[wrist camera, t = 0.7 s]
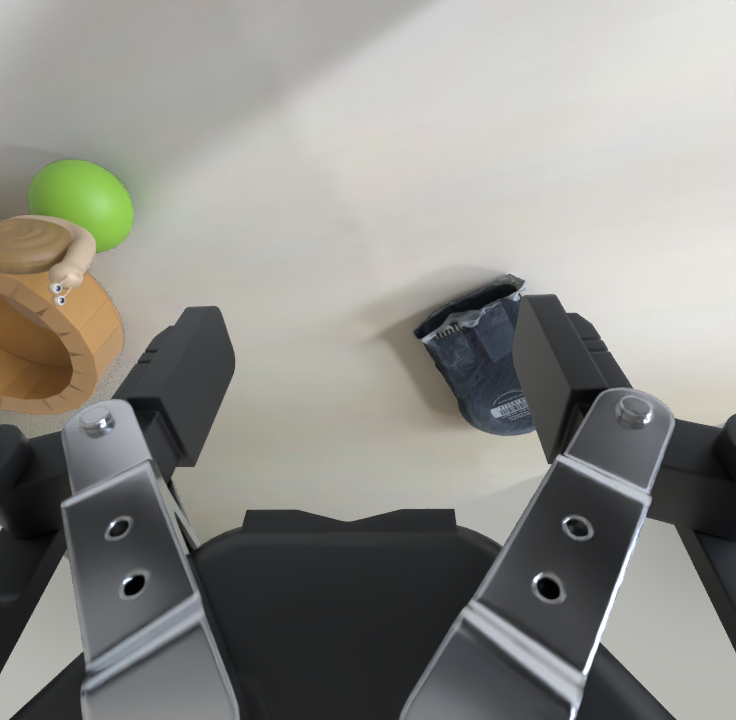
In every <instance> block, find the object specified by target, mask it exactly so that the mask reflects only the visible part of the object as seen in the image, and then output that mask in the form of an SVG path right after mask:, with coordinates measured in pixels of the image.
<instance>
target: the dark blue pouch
mask: <svg viewBox="0 0 736 720" xmlns="http://www.w3.org/2000/svg"><path fill="white" fill-rule="evenodd" d="M526 283H527V281H525V280H522V279H520V278H517V277H515V276H513V275H511V274H508V275H506V276H505V277H502V278H500V279H498V280H497V281H495V282H493V283H491V284H489V285H488V286H486V287H484V288H482V289H479V290H477V291H475V292H473V293H471V294H469V295H467V296H465V297H463V298H461V299H458V300H456V301H453V302H451V303H449V304H447V305H445V306H443V307H441V308H439V309H438V310H436V311H434V312H433V313H432V314H431V316H430V317H429V318H428V319H427V320H426V321H424V322H423V323H422V324H421V325H420V326H419V327H418V328H417V329H415V330H413V333H414V335H415V336H416V338H417V339H418V340H419V341H421V342H423V344H424V345H425V347H426V349H427V351H428V352H429V354H430V356H431V357H432V358H433V360H434V362H435V365H436V367H437V369H438V370H439V371H440V372H441V373H442V375H443V376H444V378H445V380H446V382H447V383H448V384H449V386H450V388H451V389H452V391H453V393H454V395H455V396H456V398H457V400H458V405H459V410H460V412H461V413H462V415H463V417H464V418H465V419H466V421H467V422H468V423H470V424H471V425H472V426H473V427H475V428H477V429H479V430H481V431H484V432H487V433H490V434H495V435H501V436H514V435H521V434H527V433H531V432H533V431H535V430H536V428H535V425H534V422H533V419H532V416H531V413H530V410H529V408H528V405H527V402H526V399H525V396H524V393H523V390H522V388H521V385H520V382H519V379H518V376H517V373H516V370H515V367H514V363H513V341H514V336H515V330H516V325H517V319H518V313H519V308H520V303H521V299H522V296H521V295H520V293H519V292H521V291H524V290H525V287H524V285H525V284H526Z"/></svg>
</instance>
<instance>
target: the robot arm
mask: <svg viewBox="0 0 736 720" xmlns="http://www.w3.org/2000/svg"><path fill="white" fill-rule="evenodd" d="M513 363H514V367H515V370H516V373H517V376H518V379H519V382H520V385H521V388H522V390H523V393H524V396H525V399H526V402H527V405H528V408H529V410H530V413H531V416H532V419H533V422H534V425H535V428H536V431H537V433H538V436H539V439H540V442H541V445H542V448H543V451H544V453H545V456H546V459H547V462H548V464H552V465H551V467H550V468H549V470H548V472H547V473H546V475H545V477H544V479H543V480H542V482H541V483H540V485H539V487H538V489H537V490H536V492H535V494H534V495H533V497H532V499H531V500H530V502H529V504H528V505H527V507H526V509H525V510H524V512H523V514H522V516H521V517H520V519H519V520H518V522H517V524H516V526H515V527H514V529H513V531H512V532H511V534H510V536H509V538H508V539H507V541H506V542H505V544H504V546H501V545H500V544H498V543H497V542H495V541H494V540H492V539H490V538H488V537H486V536H484V535H482V534H480V533H478V532H476V531H473V530H470V529H468V528H465V527H461V526H457V525H456V519H455V511H454V509H401V510H397V511H393V512H389V513H385V514H380V515H376V516H372V517H368V518H364V519H360V520H356V521H351V522H345V521H340V520H336V519H332V518H328V517H324V516H320V515H316V514H312V513H308V512H304V511H300V510H247V511H246V515H245V518H244V522H243V525H242V527H238V528H235V529H232V530H230V531H227V532H224V533H222V534H220V535H218V536H216V537H214V538H212V539H210V540H209V541H207V542H205V543H204V544H202V545H201V543H200V541H199V538H198V536H197V534H196V532H195V529H194V527H193V525H192V522H191V520H190V518H189V515H188V513H187V510H186V508H185V506H184V503H183V501H182V499H181V496H180V494H179V492H178V489H177V487H176V485H175V482H174V481H173V479H172V477H171V476H172V474H173V472H174V470H175V468H176V467H195V465H196V462H197V460H198V457H199V455H200V453H201V450H202V448H203V445H204V443H205V441H206V438H207V436H208V434H209V431H210V429H211V426H212V424H213V422H214V419H215V417H216V414H217V412H218V410H219V407H220V405H221V403H222V400H223V398H224V395H225V393H226V391H227V388H228V386H229V384H230V381H231V379H232V376H233V374H234V370H235V354H234V350H233V347H232V344H231V341H230V338H229V335H228V332H227V329H226V325H225V322H224V319H223V316H222V313H221V311H220V309H219V308H218V307H217V306H202V307H187V308H186V309H185V310H184V312H183V313H182V315H181V316H180V318H179V319H178V321H177V322H176V324H175V325H174V326H169V327H168V328H166V329H165V330H164V331H162V332H161V333H160V334H158V335H157V336H156V337H154V339H153V340H152V341H151V343H150V344H149V346H148V347H147V349H146V350H145V353H143V354H142V356H141V357H140V358H139V360H138V364H135V366H134V367H133V368H132V370H131V371H130V373H129V374H128V376H127V377H126V378H125V380H124V381H123V383H122V384H121V385H120V387H119V388H118V390H117V391H116V393H115V394H114V395H113V397H112V398H111V399H108V400H103V401H99V402H96V403H93V404H91V405H89V406H87V407H85V408H83V409H81V410H80V411H78V412H77V413H76V414H74V415H73V416H72V417H71V418H70V419H69V420H68V421H67V423H66V424H65V425H64V427H63V429H62V431H59V432H55V433H51V434H47V435H43V436H39V437H35V438H31V439H27V438H26V437H25V435H24V434H23V433H22V432H21V431H20V429H19V428H17V427H16V426H14V425H9V424H2V425H0V525H1V526H2V527H3V528H2V529H1V531H0V673H1V671H2V669H3V667H4V665H5V664H6V662H7V660H8V658H9V656H10V654H11V652H12V651H13V649H14V647H15V645H16V643H17V641H18V639H19V637H20V636H21V634H22V632H23V630H24V628H25V626H26V624H27V622H28V620H29V619H30V617H31V615H32V613H33V611H34V609H35V607H36V605H37V604H38V602H39V600H40V598H41V596H42V594H43V592H44V590H45V588H46V586H47V585H48V583H49V581H50V579H51V577H52V575H53V573H54V572H55V570H56V568H57V566H58V564H59V562H60V560H61V558H62V557H63V555H64V553H65V551H66V549H67V550H68V556H69V563H70V569H71V575H72V581H73V587H74V594H75V600H76V607H77V613H78V619H79V626H80V632H81V638H82V645H83V652H82V653H81V654H80V655H79V656H78V657H77V658H75V659H74V660H73V661H72V662H71V663H70V664H69V665H68V666H67V667H66V668H65V669H64V670H62V671H61V672H60V673H59V674H58V675H57V676H56V677H55V678H54V679H53V680H52V681H51V682H49V683H48V684H47V685H46V686H45V687H44V688H43V689H42V690H41V691H40V692H39V693H38V694H37V695H35V696H34V697H33V698H32V699H31V700H30V701H29V702H28V703H27V704H26V705H24V706H23V707H22V708H21V709H20V710H19V711H18V712H17V713H16V714H15V715H14V716H13V717H11V718H10V719H9V720H676V719H675V718H674V717H673V716H672V715H671V714H670V713H669V712H668V711H667V710H666V709H665V708H664V707H663V706H662V705H661V704H660V703H659V702H658V701H657V700H656V699H655V698H654V697H653V696H652V695H651V693H649V691H648V690H647V689H646V688H645V687H644V686H643V685H642V684H641V683H640V682H639V681H638V680H637V679H636V678H635V677H634V676H633V675H632V674H631V673H630V672H629V671H628V670H627V669H626V668H625V667H624V666H623V665H622V664H621V663H620V662H619V661H618V660H617V659H616V658H615V657H614V656H613V655H612V654H611V653H610V652H609V651H608V650H607V649H606V648H605V647H604V646H603V645H602V644H601V643H600V640H601V638H602V635H603V632H604V629H605V627H606V624H607V621H608V619H609V616H610V613H611V610H612V608H613V605H614V602H615V599H616V597H617V594H618V591H619V589H620V586H621V583H622V580H623V578H624V575H625V572H626V569H627V566H628V564H629V561H630V558H631V556H632V553H633V550H634V547H635V545H636V542H637V539H638V537H639V534H640V531H641V529H642V526H643V523H644V520H645V518H646V517H647V518H651V519H655V520H659V521H662V522H666V523H670V524H673V525H675V527H676V529H677V531H678V533H679V535H680V537H681V539H682V542H683V544H684V546H685V548H686V550H687V552H688V554H689V556H690V558H691V560H692V562H693V565H694V567H695V569H696V571H697V573H698V575H699V577H700V579H701V581H702V583H703V585H704V587H705V589H706V591H707V594H708V596H709V597H710V600H711V602H712V604H713V606H714V608H715V610H716V612H717V614H718V616H719V619H720V621H721V623H722V625H723V627H724V629H725V631H726V633H727V635H728V637H729V639H730V641H731V643H732V645H733V648H734V650H735V652H736V414H735V415H733V416H731V417H730V418H729V419H728V420H727V422H726V423H725V425H724V426H723V428H717V427H713V426H708V425H703V424H698V423H693V422H688V421H684V420H679V419H676V418H674V415H673V413H672V412H671V410H670V409H669V408H668V407H667V406H666V405H665V404H664V403H663V402H662V401H660V400H659V399H657V398H656V397H654V396H652V395H650V394H648V393H645V392H643V391H640V390H636V389H633V387H632V386H631V384H630V383H629V381H628V379H627V378H626V376H625V375H624V373H623V372H622V370H621V368H620V367H619V365H618V364H617V362H616V361H615V359H614V358H613V356H612V354H611V353H610V352H608V348H607V347H606V345H605V343H604V342H603V340H601V337H600V336H599V334H598V333H597V331H596V329H595V328H594V326H593V325H592V324H591V323H590V322H588V321H587V320H586V319H584V318H583V317H581V316H580V315H579V314H577V313H566V312H565V310H564V308H563V306H562V305H561V303H560V301H559V299H558V298H557V296H556V295H555V294H546V295H524V296H523V297H522V299H521V303H520V308H519V313H518V319H517V325H516V330H515V336H514V341H513Z"/></svg>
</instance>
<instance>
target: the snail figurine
mask: <svg viewBox="0 0 736 720" xmlns="http://www.w3.org/2000/svg"><path fill="white" fill-rule="evenodd" d="M28 204H29V209H30V212H31V215H21V216H15V217H11V218H8V219H2V220H0V273H5V274H17V275H21V274H36V273H42V272H47V271H49V274H48V277H49V280H50V282H51V283H50V284H49V285H48V287H47V288H48V291H49V292H50V293H52V294H57V295H54V296H53V297H52V303H53V304H54V305H56V306H62V305H63V304H64V303H65V298H64V297H65V296H66V295H67V294H68V293H69V292H70V290H71V289H74V288H76V287H78V286H79V285H80V284H81V283H82V281H83V274H84V273H85V272H86V271H87V270H88V268H89V267H90V265H91V263H92V261H93V259H94V256H95V253H100V252H104V251H108V250H110V249H112V248H114V247H116V246H118V245H119V244H120V243H121V242H123V241H124V240H125V238H126V237H127V236H128V234H129V232H130V231H131V228H132V225H133V220H134V209H133V204H132V201H131V198H130V196H129V194H128V192H127V190H126V188H125V187H124V186H123V184H122V183H121V182H120V181H119V180H118V179H117V178H116V177H115V176H114V175H113V174H111V173H110V172H109V171H107V170H106V169H104V168H102V167H100V166H98V165H96V164H94V163H91V162H87V161H83V160H75V159H68V160H60V161H56V162H53V163H51V164H49V165H47V166H45V167H44V168H42V169H41V170H40V171H39V172H38V173H37V174H36V175H35V177H34V178H33V180H32V182H31V184H30V187H29V192H28ZM62 289H65V290H68V291H67V293H66V294H64V295H63V296H62V295H59V294H58V293H60V292H61V290H62Z"/></svg>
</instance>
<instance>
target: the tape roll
mask: <svg viewBox="0 0 736 720" xmlns="http://www.w3.org/2000/svg"><path fill="white" fill-rule="evenodd" d="M48 274H49V271H47V272H42V273H36V274H21V275H17V274H5V273H0V409H3V410H9V411H14V412H19V413H24V414H31V415H54V414H60V413H63V412H67V411H70V410H74V409H77V408H79V407H80V406H81V405H82V404H83V403H85V402H86V401H87V400H88V399H89V398H91V397H92V396H93V394H94V393H95V392H96V390H97V389H98V388H99V386H100V385H101V384H102V382H103V381H104V380H105V378H106V377H107V376H108V374H109V373H110V371H111V370H112V369H113V367H114V366H115V365H116V363H117V361H118V359H119V357H120V355H121V353H122V349H123V345H124V332H123V326H122V323H121V319H120V317H119V314H118V312H117V310H116V308H115V306H114V305H113V303H112V301H111V299H110V298H109V297H108V295H107V294H106V292H105V291H104V290H103V289H102V287H101V286H100V285H99V284H98V283H97V282H96V281H95V279H94V278H92V277H91V276H90V275H89V274H88V273H87V272H85V273H84V274H83V281H82V283H81V284H80V285H79V286H78V287H76V288H74V289H71V290H70V292H69V293H68V294H67V295H66V296H65V297H64V298H65V303H64V304H63V305H62V306H56V305H54V304H53V303H52V297H53V296H54V295H57V294H52V293H50V292H49V291H48V288H47V287H48V285H49V284H50V283H51V282H50V280H49V277H48ZM67 291H68V290H65V289H62V290H61V292H60V293H58V294H59V295H62V296H63V295H64V294H66V293H67Z"/></svg>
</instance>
